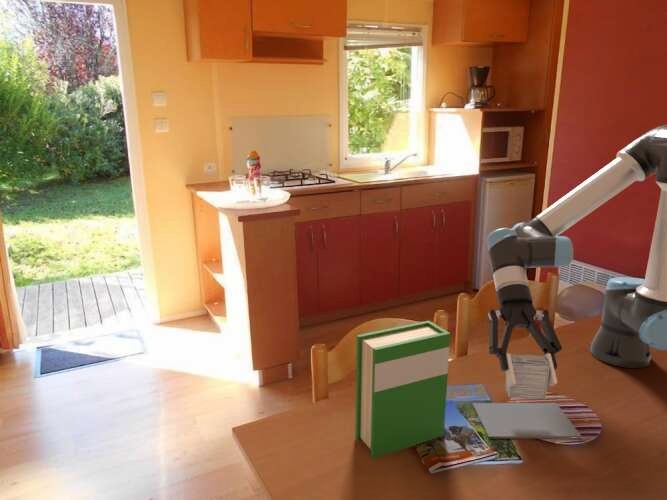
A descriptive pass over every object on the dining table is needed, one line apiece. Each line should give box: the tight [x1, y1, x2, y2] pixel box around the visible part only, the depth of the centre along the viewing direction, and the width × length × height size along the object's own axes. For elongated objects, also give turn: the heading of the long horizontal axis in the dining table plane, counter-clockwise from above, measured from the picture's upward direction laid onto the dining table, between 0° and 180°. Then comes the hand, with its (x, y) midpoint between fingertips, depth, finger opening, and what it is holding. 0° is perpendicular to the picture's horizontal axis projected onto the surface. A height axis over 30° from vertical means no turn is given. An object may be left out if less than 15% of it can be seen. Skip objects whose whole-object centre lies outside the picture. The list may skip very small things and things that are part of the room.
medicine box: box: [504, 353, 550, 400], centre depth 115 cm, size 8×4×9 cm, turn 84°
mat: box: [472, 402, 583, 439], centre depth 118 cm, size 20×13×1 cm, turn 90°
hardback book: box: [354, 320, 451, 460], centre depth 109 cm, size 18×7×24 cm, turn 116°
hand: (532, 384), depth 112 cm, fingers closed on medicine box, 8 cm apart
